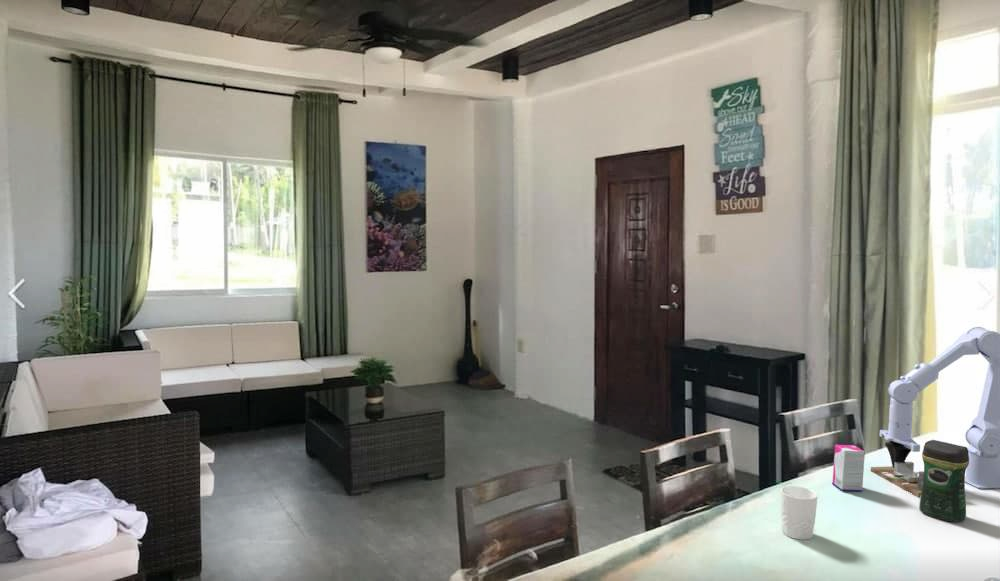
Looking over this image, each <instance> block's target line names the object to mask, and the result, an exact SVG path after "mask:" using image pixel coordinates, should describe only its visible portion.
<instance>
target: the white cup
mask: <svg viewBox="0 0 1000 581" xmlns="http://www.w3.org/2000/svg"><path fill="white" fill-rule="evenodd" d="M818 496H819V495H818V493H817V492H816V491H814V490H812V489H811V488H807V487H804V486H803V487H802V486H794V485H793V486H792V485H789V486H788V485H787V486H784V487H781V488H780V520H781V532H782V534H784V536H787V537H788V538H792V539H795V540H802V541H804V540H810V539H812V538H813V536H814V528H815V523H816V516H817V508H818V507H817V506H818Z"/></svg>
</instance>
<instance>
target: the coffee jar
mask: <svg viewBox="0 0 1000 581" xmlns="http://www.w3.org/2000/svg"><path fill="white" fill-rule="evenodd" d="M968 454H969V453H968V447H967V446H964V445H959V444H954V443H950V442H945V441H941V440H936V439H931V440H927V441H926V442H925V443H924V445H923V449H922V454H921V458H922V461H923V471H924V478H923V485H922V491H921V497H919V504H918V509H919V511H920V512H921V513H923V514H924V515H927V516H930V517H933V518H936V519H939V520H944V521H948V522H962V521H963V520H965V519H966V517H967V502H966V500H967V499H966V485H965V483H966V482H965V477H966V469H967V467H968V465H969V455H968Z"/></svg>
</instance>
